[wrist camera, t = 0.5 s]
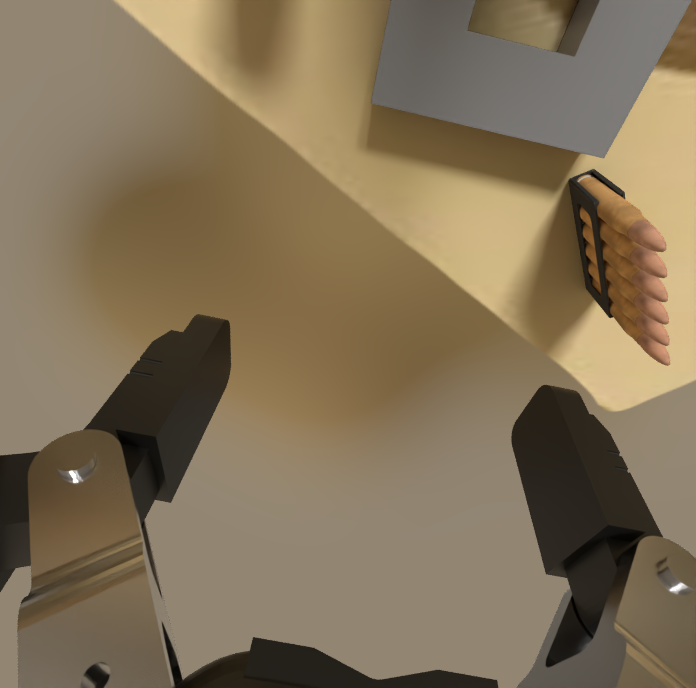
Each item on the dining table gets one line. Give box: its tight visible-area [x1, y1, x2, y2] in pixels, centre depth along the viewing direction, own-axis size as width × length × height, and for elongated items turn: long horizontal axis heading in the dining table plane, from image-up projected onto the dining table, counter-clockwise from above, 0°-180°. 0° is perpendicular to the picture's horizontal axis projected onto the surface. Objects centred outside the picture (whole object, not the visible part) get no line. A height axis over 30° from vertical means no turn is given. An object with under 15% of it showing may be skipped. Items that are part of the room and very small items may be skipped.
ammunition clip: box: [569, 169, 670, 366], centre depth 29 cm, size 11×2×12 cm, turn 26°
